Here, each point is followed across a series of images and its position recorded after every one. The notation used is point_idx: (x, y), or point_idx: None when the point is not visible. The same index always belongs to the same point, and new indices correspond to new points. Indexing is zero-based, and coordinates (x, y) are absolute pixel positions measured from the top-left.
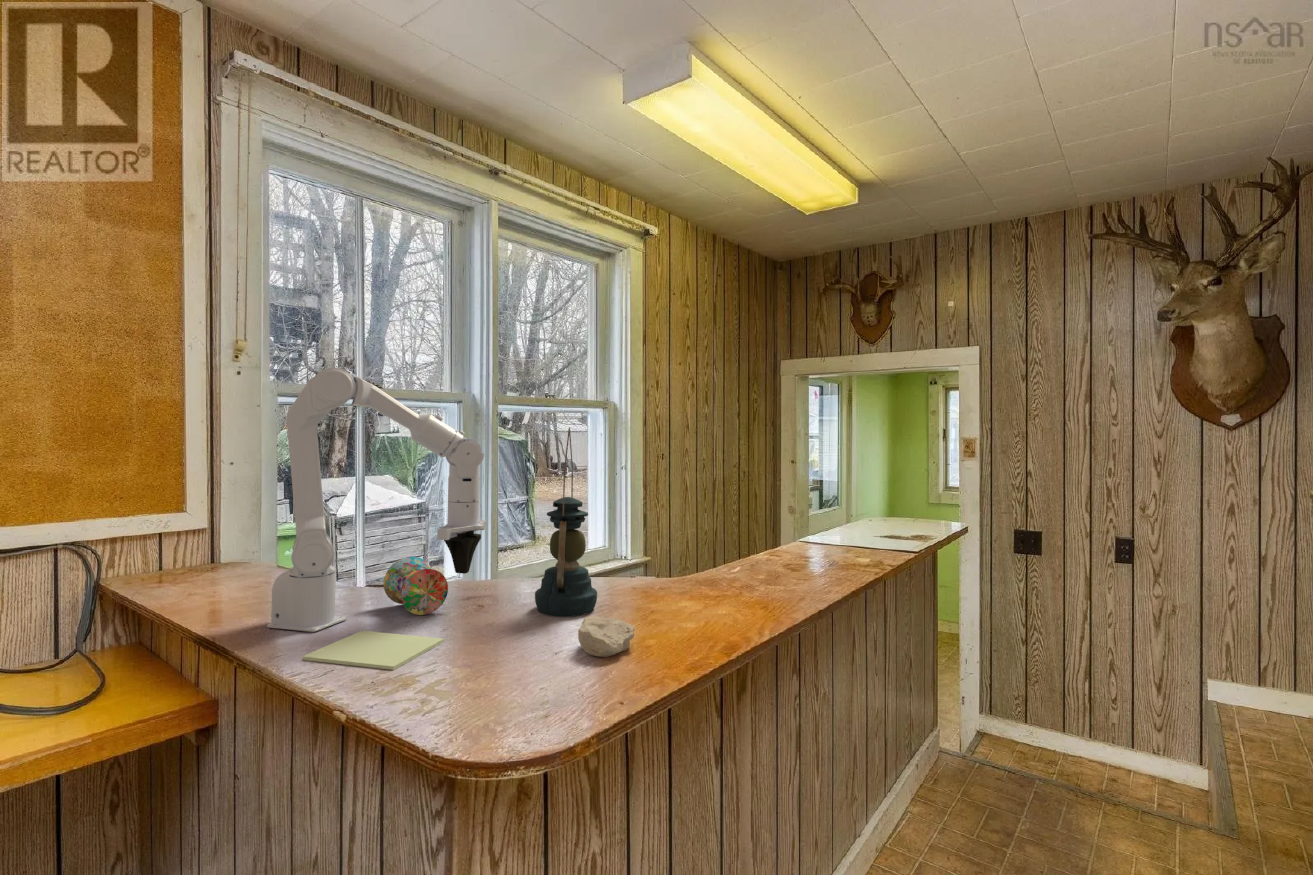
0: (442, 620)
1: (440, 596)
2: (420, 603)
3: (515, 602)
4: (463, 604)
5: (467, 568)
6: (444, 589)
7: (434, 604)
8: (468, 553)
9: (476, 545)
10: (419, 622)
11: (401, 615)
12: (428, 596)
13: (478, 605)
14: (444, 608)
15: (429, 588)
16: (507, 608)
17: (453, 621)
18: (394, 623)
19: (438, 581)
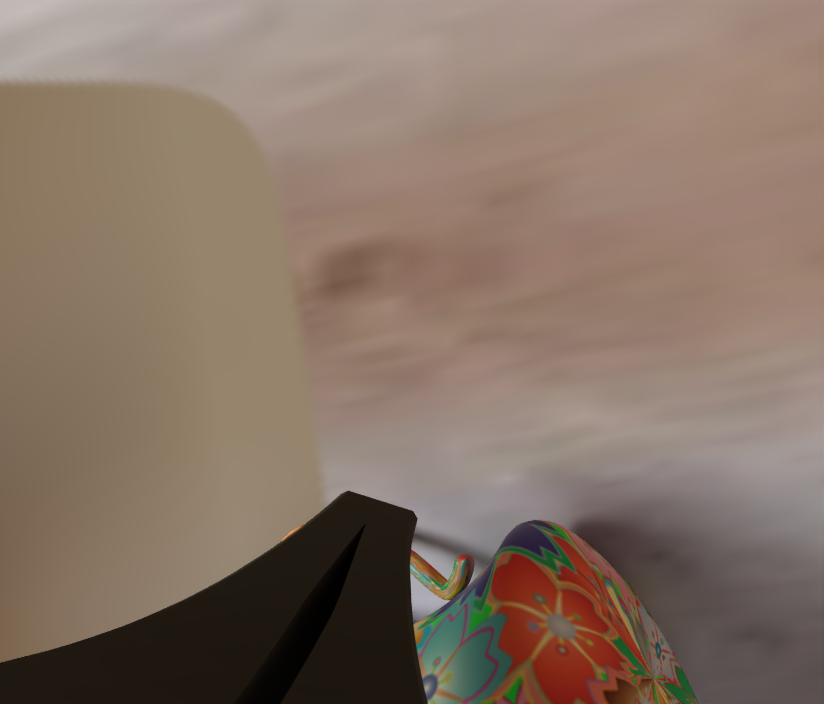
0: (750, 450)
1: (580, 569)
2: (668, 657)
3: (213, 20)
4: (327, 397)
5: (383, 524)
6: (553, 580)
7: (603, 567)
8: (373, 654)
9: (130, 638)
10: (789, 574)
11: None
12: (642, 648)
13: (339, 293)
14: (437, 491)
15: (648, 694)
16: (400, 39)
17: (786, 373)
18: (797, 695)
19: (599, 679)
